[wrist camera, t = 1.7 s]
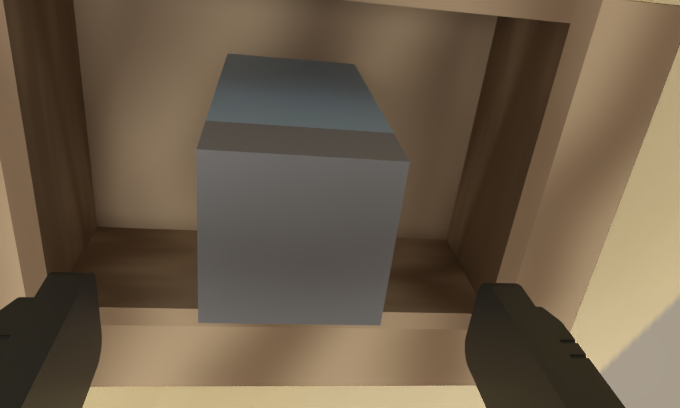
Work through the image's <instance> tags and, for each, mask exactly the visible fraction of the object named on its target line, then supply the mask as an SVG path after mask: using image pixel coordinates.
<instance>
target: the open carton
mask: <svg viewBox="0 0 680 408" xmlns="http://www.w3.org/2000/svg"><path fill="white" fill-rule="evenodd" d="M679 45H680V6H679V5H670V4H661V3H652V2H643V1H634V0H0V310H1V309H2V308H4V307H5V306H7V305H8V304H9V303H11V302H12V301H14V300H15V299H16V298H18V297H34V296H35V295H36V293H37V292H38V290H39V288H40V287H41V285H42V283H43V282H44V280H45V279H46V277H47V275H48V274H49V273H50V272H92V273H93V274H94V275H95V278H96V284H97V293H98V303H99V312H100V322H101V331H102V347H101V354H100V360H99V364H98V367H97V369H96V372H95V375H94V377H93V380H92V383H91V385H90V387H110V386H426V385H476V384H475V381H474V379H473V377H472V375H471V373H470V370H469V368H468V366H467V362H466V358H465V338H466V334H467V330H468V327H469V323H470V319H471V316H472V312H473V308H474V305H475V301H476V297H477V294H478V290H479V288H480V286H481V285H482V284H483V283H517V284H519V285H521V287H522V288H523V289H524V291H525V292H526V293H527V295H528V296H529V298H530V299H531V301H532V302H533V303H534V305H535V306H536V307H543V308H544V309H545V310H547V311H548V312H549V313H551V314H552V315H553V316H555V317H556V318H557V319H559V320H560V321H561V322H562V323H563V324H564V326H565V327H566V328H567V330H568V331H571V329H572V326H573V324H574V321H575V318H576V316H577V313H578V310H579V308H580V305H581V303H582V300H583V297H584V295H585V292H586V289H587V287H588V284H589V282H590V279H591V276H592V274H593V271H594V268H595V266H596V263H597V261H598V258H599V255H600V253H601V250H602V247H603V245H604V242H605V240H606V237H607V234H608V232H609V229H610V226H611V224H612V221H613V219H614V216H615V213H616V211H617V208H618V205H619V203H620V200H621V198H622V195H623V192H624V190H625V187H626V184H627V182H628V179H629V177H630V174H631V171H632V169H633V166H634V163H635V161H636V158H637V156H638V153H639V150H640V148H641V145H642V142H643V140H644V137H645V135H646V132H647V129H648V127H649V124H650V121H651V119H652V116H653V114H654V111H655V108H656V106H657V103H658V100H659V98H660V95H661V93H662V90H663V87H664V85H665V82H666V80H667V77H668V74H669V72H670V69H671V66H672V64H673V61H674V59H675V56H676V53H677V51H678V48H679ZM228 53H229V54H240V55H252V56H264V57H276V58H287V59H299V60H311V61H323V62H335V63H346V64H355V66H356V68H357V70H358V71H359V73H360V75H361V77H362V78H363V80H364V82H365V84H366V85H367V87H368V89H369V91H370V93H371V94H372V96H373V98H374V100H375V101H376V103H377V105H378V107H379V108H380V110H381V112H382V114H383V115H384V117H385V119H386V121H387V123H388V124H389V126H390V128H391V130H392V131H393V133H394V135H395V137H396V138H397V140H398V142H399V144H400V145H401V147H402V149H403V151H404V152H405V154H406V156H407V158H408V160H409V161H410V164H409V169H408V175H407V180H406V186H405V191H404V197H403V203H402V208H401V214H400V219H399V225H398V230H397V236H396V242H395V247H394V253H393V258H392V264H391V269H390V275H389V280H388V286H387V292H386V297H385V303H384V308H383V314H382V319H381V325H309V324H234V323H198V260H197V166H196V149H197V146H198V143H199V140H200V136H201V133H202V130H203V127H204V124H205V121H206V118H207V115H208V112H209V109H210V106H211V103H212V100H213V97H214V94H215V91H216V87H217V84H218V81H219V78H220V75H221V72H222V69H223V66H224V63H225V60H226V57H227V54H228Z"/></svg>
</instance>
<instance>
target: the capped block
mask: <svg viewBox="0 0 680 408" xmlns="http://www.w3.org/2000/svg"><path fill="white" fill-rule="evenodd" d="M409 164H410V161H409V160H408V158H407V156H406V154H405V152H404V151H403V149H402V147H401V145H400V144H399V142H398V140H397V138H396V137H395V135H394V133H393V131H392V130H391V128H390V126H389V124H388V123H387V121H386V119H385V117H384V115H383V114H382V112H381V110H380V108H379V107H378V105H377V103H376V101H375V100H374V98H373V96H372V94H371V93H370V91H369V89H368V87H367V85H366V84H365V82H364V80H363V78H362V77H361V75H360V73H359V71H358V70H357V68H356V66H355V64H346V63H335V62H323V61H311V60H299V59H287V58H276V57H264V56H252V55H240V54H229V53H228V54H227V57H226V60H225V63H224V66H223V69H222V72H221V75H220V78H219V81H218V84H217V87H216V91H215V94H214V97H213V100H212V103H211V106H210V109H209V112H208V115H207V118H206V121H205V124H204V127H203V130H202V133H201V136H200V140H199V143H198V146H197V149H196V166H197V260H198V323H234V324H309V325H381V319H382V314H383V308H384V303H385V297H386V292H387V286H388V280H389V275H390V269H391V264H392V258H393V253H394V247H395V242H396V236H397V230H398V225H399V219H400V214H401V208H402V203H403V197H404V191H405V186H406V180H407V175H408V169H409Z"/></svg>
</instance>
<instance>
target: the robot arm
mask: <svg viewBox="0 0 680 408" xmlns="http://www.w3.org/2000/svg"><path fill="white" fill-rule="evenodd" d="M101 347H102V331H101V322H100V312H99V303H98V293H97V284H96V278H95V275H94V274H93V273H92V272H50V273H49V274H48V275H47V277H46V279H45V280H44V282H43V283H42V285H41V287H40V288H39V290H38V292H37V293H36V295H35V296H34V297H18V298H16V299H15V300H14V301H12V302H11V303H9V304H8V305H7V306H5V307H4V308H2V309H1V310H0V408H82V407H83V404H84V401H85V399H86V396H87V393H88V391H89V388H90V385H91V383H92V380H93V377H94V375H95V372H96V369H97V367H98V364H99V360H100V354H101ZM465 358H466V362H467V366H468V368H469V370H470V373H471V375H472V377H473V379H474V381H475V384H476V386H477V388H478V390H479V392H480V395H481V397H482V399H483V401H484V403H485V406H486V408H625V407H624V405H623V404H622V403H621V401H620V400H619V399H618V397H617V396H616V394H615V393H614V392H613V390H612V389H611V388H610V386H609V385H608V384H607V382H606V381H605V380H604V378H603V377H602V376H601V374H600V373H599V371H598V370H597V369H596V367H595V366H594V365H593V363H592V362H591V361H590V359H589V358H586V354H585V353H584V351H583V350H582V349H581V347H580V346H579V344H578V343H575V339H574V338H573V336H572V335H571V334H570V332H569V331H568V330H567V328H566V327H565V326H564V324H563V323H562V322H561V321H560V320H559V319H557V318H556V317H555V316H553V315H552V314H551V313H549V312H548V311H547V310H545V309H544V308H543V307H536V306H535V305H534V303H533V302H532V301H531V299H530V298H529V296H528V295H527V293H526V292H525V291H524V289H523V288H522V287H521V285H519V284H517V283H483V284H482V285H481V286H480V288H479V290H478V294H477V297H476V301H475V305H474V308H473V312H472V316H471V319H470V323H469V327H468V330H467V334H466V338H465Z"/></svg>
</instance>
